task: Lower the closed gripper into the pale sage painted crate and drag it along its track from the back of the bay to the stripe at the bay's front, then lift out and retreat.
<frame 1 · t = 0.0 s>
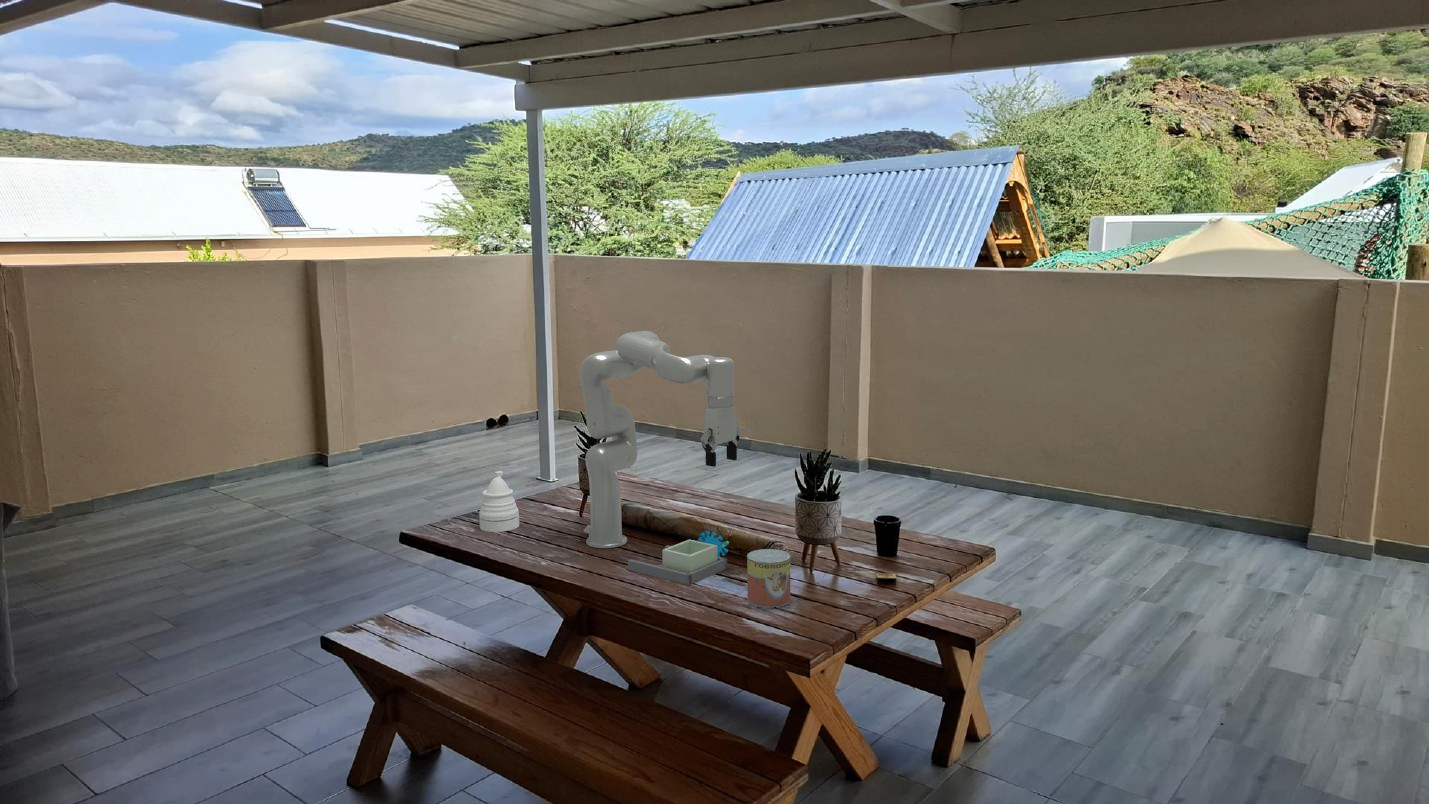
hand: (721, 462, 273), 31 cm above the table, tool pointing down, fingers open, 9 cm apart
bay: (677, 572, 277), on the table
gear: (714, 558, 290), on the table
honey pot: (499, 526, 325), on the table
canned food: (768, 600, 255), on the table
crate: (690, 559, 273), point 5 cm above the table, slide at 10.5 cm
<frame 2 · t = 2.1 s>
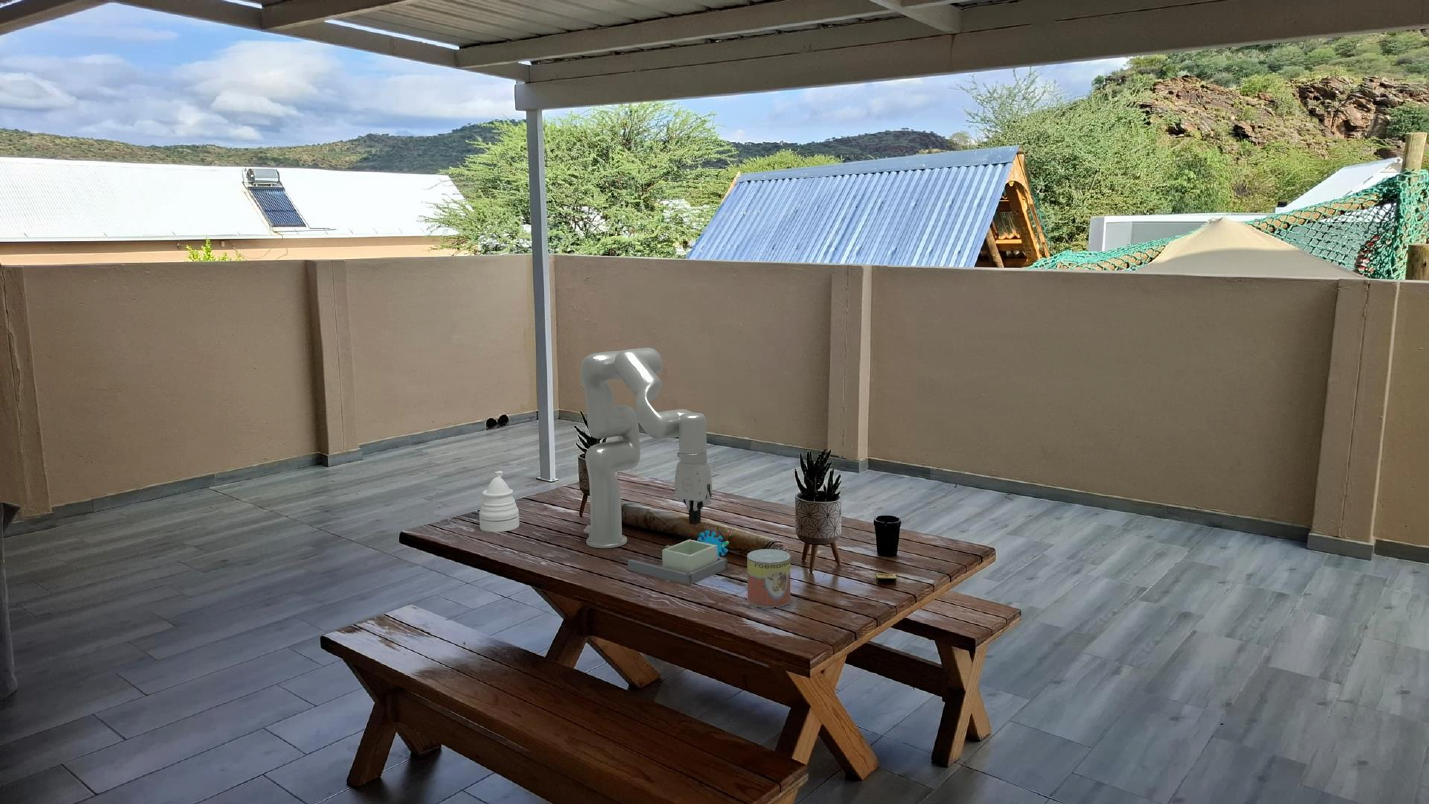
hand: (695, 523, 270), 15 cm above the table, tool pointing down, fingers closed
nothing on the table moved.
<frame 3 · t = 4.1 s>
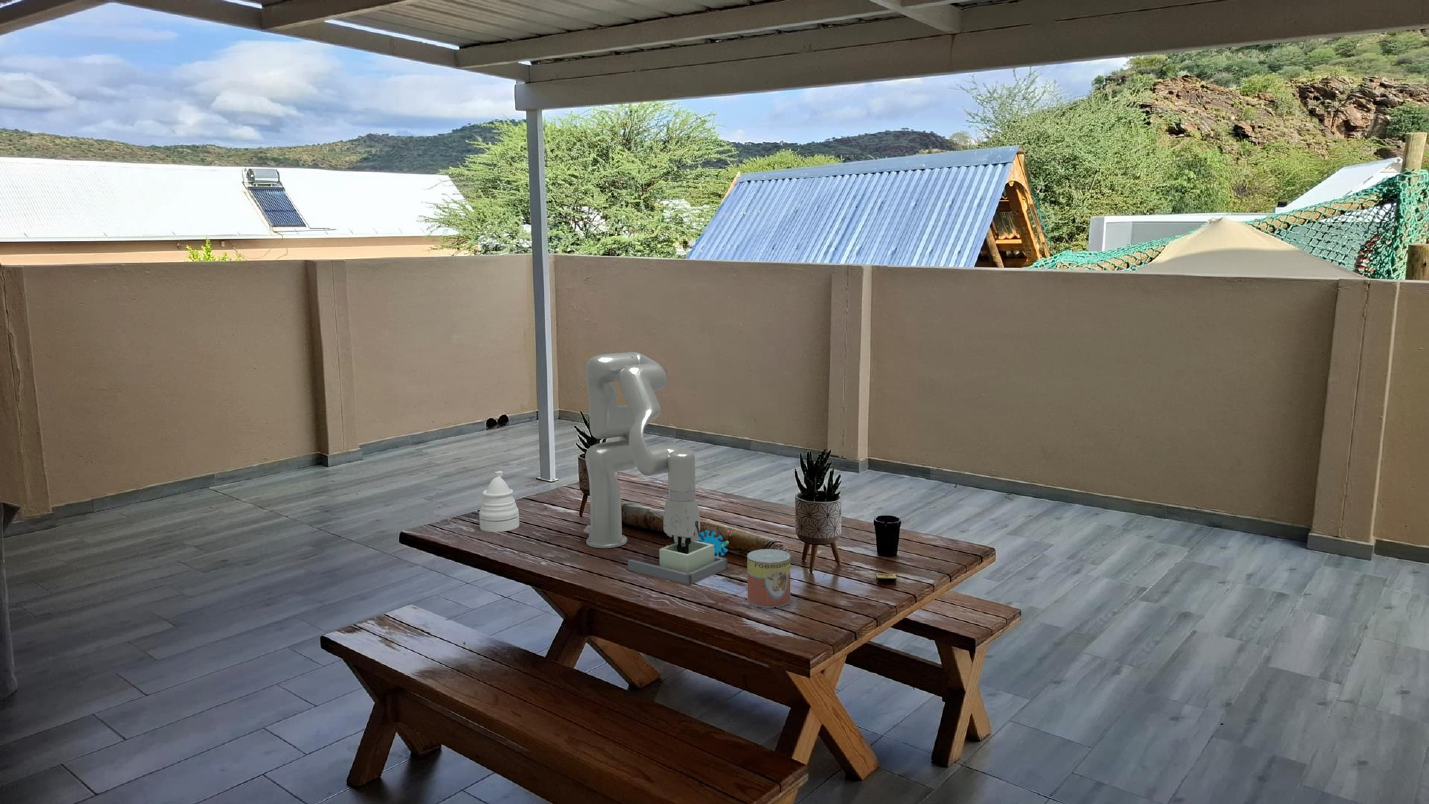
hand: (682, 558, 275), 4 cm above the table, tool pointing down, fingers closed
crate: (687, 559, 274), point 5 cm above the table, slide at 9.4 cm, touching gripper
everything else where it was.
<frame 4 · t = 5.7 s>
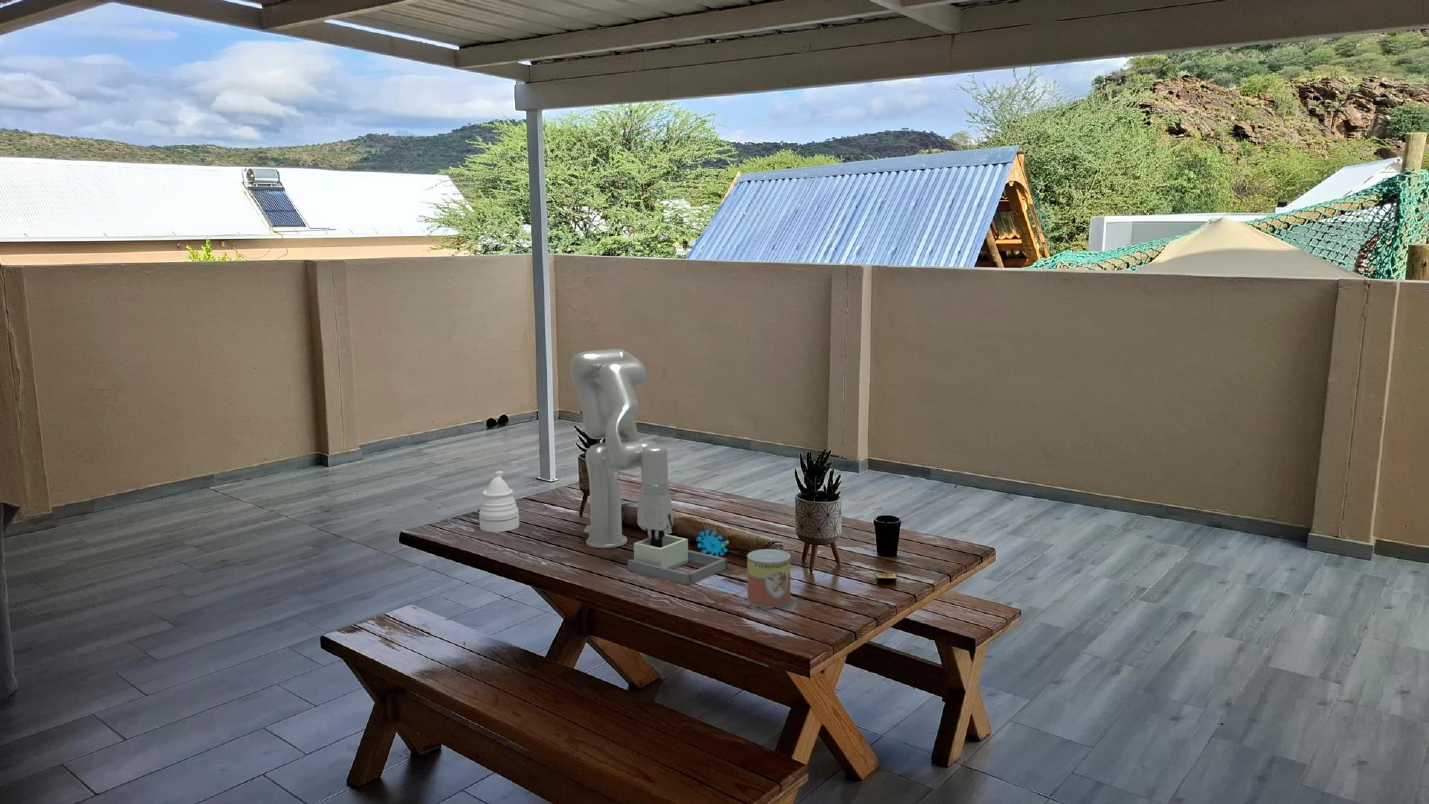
hand: (656, 551, 280), 5 cm above the table, tool pointing down, fingers closed
crate: (661, 553, 279), point 5 cm above the table, slide at -0.1 cm, touching gripper
everything else where it was.
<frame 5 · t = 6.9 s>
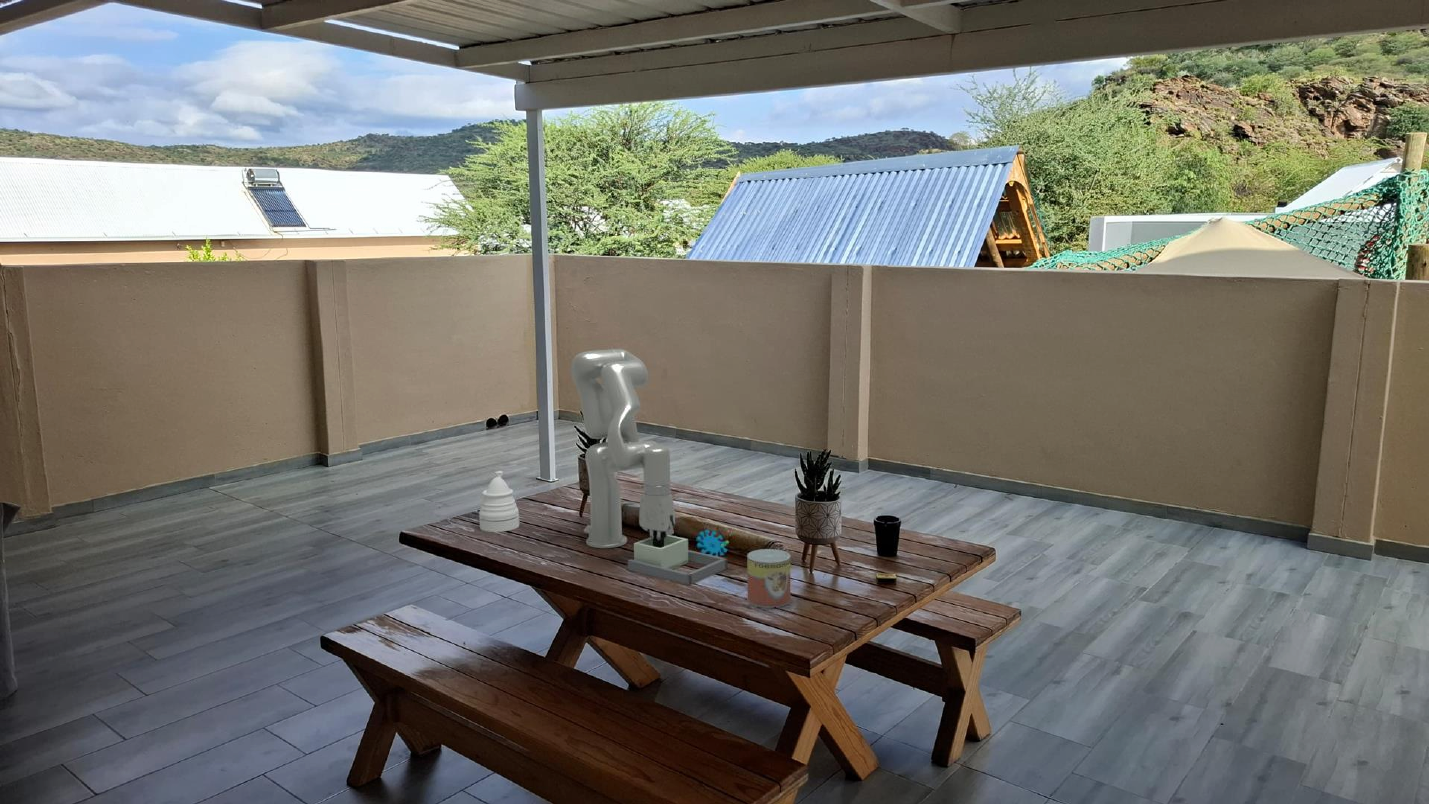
hand: (658, 551, 280), 5 cm above the table, tool pointing down, fingers closed
crate: (661, 553, 279), point 5 cm above the table, slide at 0.0 cm
everything else where it was.
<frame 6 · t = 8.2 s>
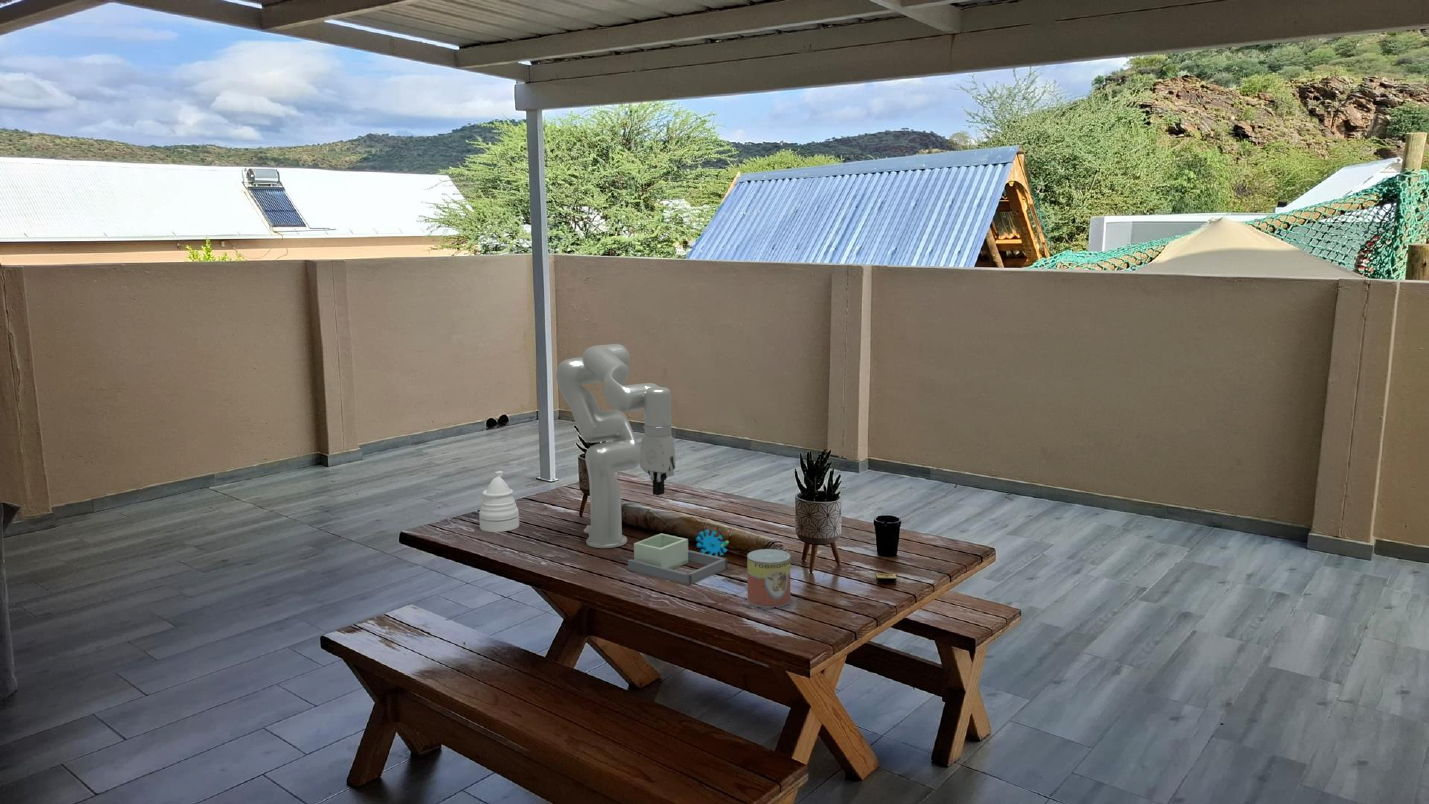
hand: (658, 494, 279), 21 cm above the table, tool pointing down, fingers closed
nothing on the table moved.
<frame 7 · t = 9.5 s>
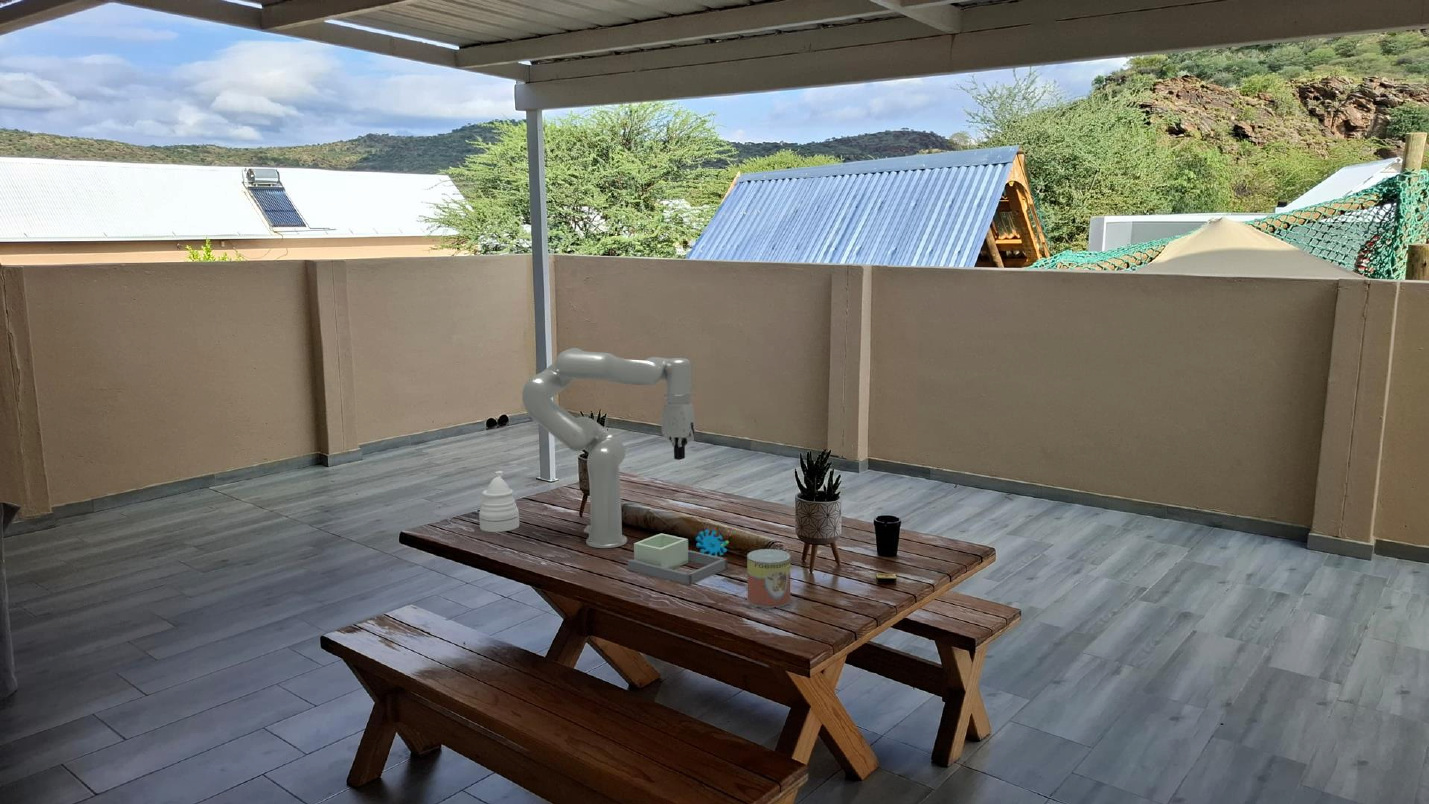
hand: (679, 458, 298), 27 cm above the table, tool pointing down, fingers closed
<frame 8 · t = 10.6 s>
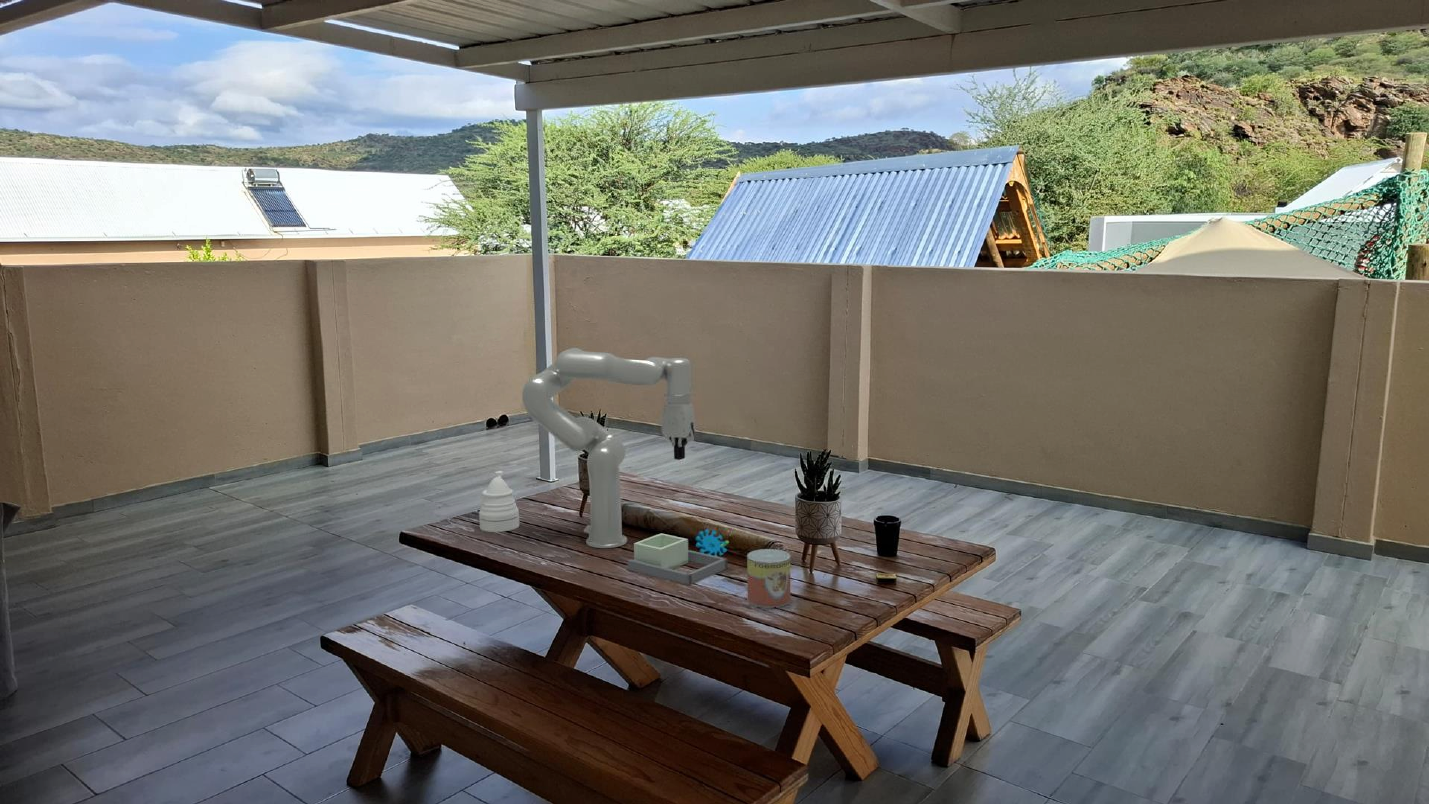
hand: (679, 458, 298), 27 cm above the table, tool pointing down, fingers closed
at the end: crate slide at 0.0 cm; the gripper is holding nothing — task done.
